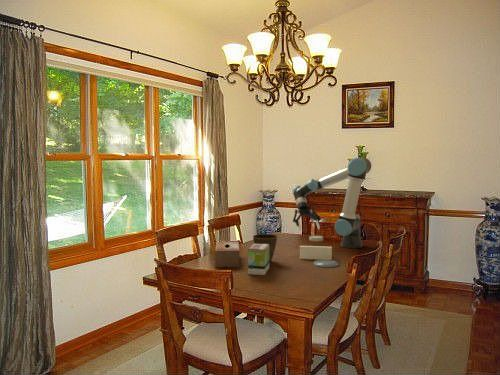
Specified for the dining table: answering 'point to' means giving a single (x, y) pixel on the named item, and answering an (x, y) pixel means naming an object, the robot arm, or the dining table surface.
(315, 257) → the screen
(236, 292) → the dining table surface
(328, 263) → the plate
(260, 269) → the tea box
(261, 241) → the plant pot
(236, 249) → the tissue box cover
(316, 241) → the disposable coffee cup
